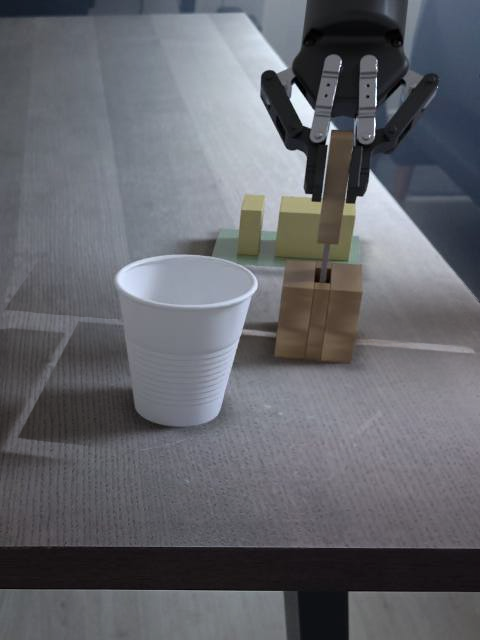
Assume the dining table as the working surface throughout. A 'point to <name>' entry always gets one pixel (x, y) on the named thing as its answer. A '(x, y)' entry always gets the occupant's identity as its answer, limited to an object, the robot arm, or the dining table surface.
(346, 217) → the butter block
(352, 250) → the board
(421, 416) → the dining table surface
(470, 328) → the dining table surface
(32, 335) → the dining table surface
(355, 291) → the knife holder
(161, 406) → the cup
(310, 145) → the robot arm
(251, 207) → the butter pat
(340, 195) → the knife
